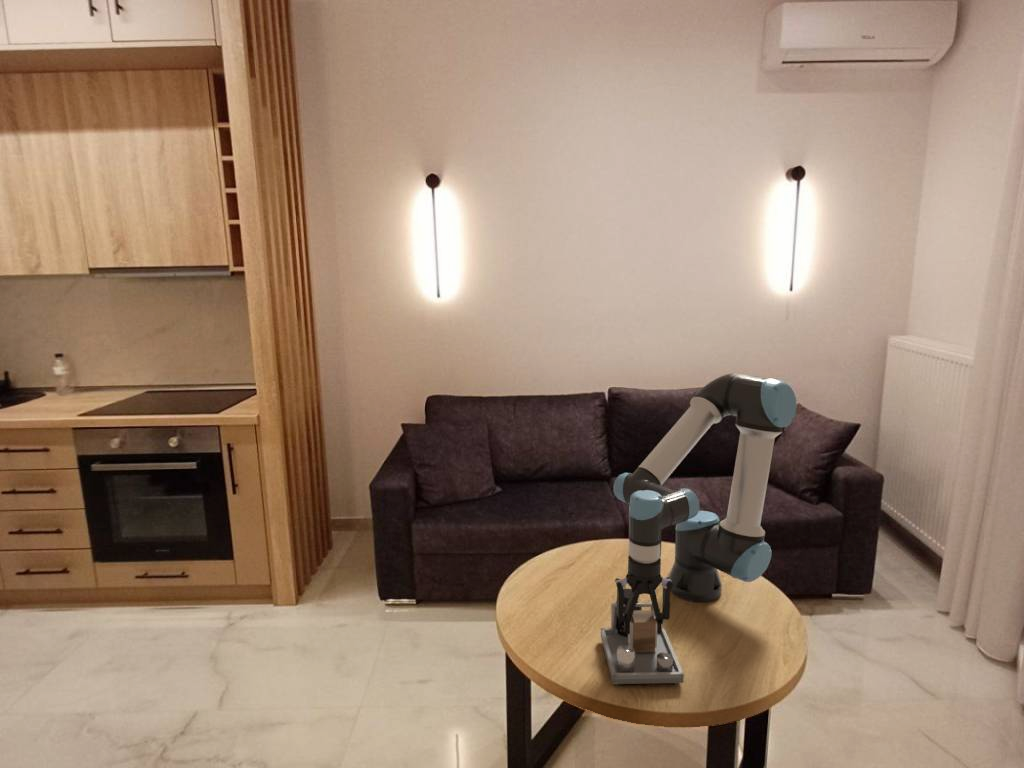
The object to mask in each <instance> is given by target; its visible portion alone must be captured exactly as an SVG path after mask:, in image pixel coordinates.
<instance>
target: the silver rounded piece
mask: <svg viewBox="0 0 1024 768" xmlns="http://www.w3.org/2000/svg"><path fill="white" fill-rule="evenodd" d="M634 665H635V650H634V648H633V647H631V646H628V645H621V646H619V647H618V648H617V671H618V672H619V673H634Z"/></svg>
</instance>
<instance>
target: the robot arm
mask: <svg viewBox="0 0 1024 768" xmlns="http://www.w3.org/2000/svg"><path fill="white" fill-rule="evenodd" d="M689 405H690V406H689V407H688V408H687V410H685V412H684V413H683V414H682V415H681V417H680V418H679V419H678V420H677V421H676V423H675V424H673V426H672V427H671V429H670V430H669V431H668V432H667V433H666V434H665V435H664V436H663V437H662V439H661V440H660V441H659V442H658V443H657V445H656V446H655V447H654V448H653V450H651V452H650V453H649V454H648V455H647V456H646V458H645V459H644V460H643V461H642V462H641V463H640V464H639V465H638V467H637V468H636V469H635V470H634V471H633V472H632V473H631V472H623V473H621V474H618V476H617V478H615V481H614V483H613V493H614V496H615V497H616V498H617V499H618V500H619V501H621V502H623V503H625V504H626V505H628V507H629V508H628V556H627V557H628V558H627V573H626V575H625V577H624V578H620V577H619V578H618V577H617V578H615V580H614V581H615V585H616V590H617V591H616V601H617V611H616V613H617V617H618V620H619V621H624V631H625V634H628V644H629V646H631V647H633V621H632V615H633V612H634V609H635V606H636V602H637V599H638V600H639V598H640V595H644V594H646V595H649V599H650V603H652V606H653V610H654V614H655V617H654V619H655V621H656V631H655V648H657V633H661V627H662V626H663V625H662V624H664V621H665V620H666V621H669V620H671V619H670V618H671V594H673V595H675V597H678V598H680V599H683V600H686V601H687V602H688V601H689V602H695V603H707V602H708V603H709V602H712V601H715V600H717V599H718V598H719V597H721V595H722V588H723V587H722V581H721V578H720V574H719V571H720V572H722V573H724V574H727V575H728V576H730V577H732V578H733V579H737V580H739V581H742V582H746V583H750V582H751V583H752V582H754V581H756V580H758V579H759V578H760V577H761V576H762V575H763V574H764V573H765V571H767V569H768V567H769V564H770V562H771V560H772V549H771V545H769V543H767V542H766V541H765V537H766V531H765V530H764V529H763V527H762V526H761V522H762V518H763V517H762V516H763V510H764V505H765V500H766V499H765V498H766V494H767V493H766V492H767V488H768V481H769V476H770V475H769V474H770V469H771V462H772V459H773V458H772V457H773V451H774V445H775V439H776V438H777V437H778V436H779V435H781V434H783V431H784V430H783V428H786V427H788V426H790V425H791V424H792V422H793V419H794V418H795V416H796V413H797V398H796V394H795V391H794V390H793V388H792V387H791V385H790V384H789V383H787V382H785V381H782V380H779V379H775V378H772V377H770V378H769V377H762V376H755V375H750V374H749V375H748V374H744V373H739V372H738V373H737V372H736V373H735V372H732V373H728V374H727V373H726V374H724V375H721V376H719V377H717V378H714V379H713V380H712V381H710V382H709V383H707V384H705V386H703V387H702V388H700V389H699V390H698V391H697V392H696V394H695V395H694V396H693V397H692V398H691V399H690V402H689ZM727 416H733V417H736V419H735V427H736V428H737V429H738V431H739V432H740V433H739V437H738V444H737V452H736V456H735V462H734V469H733V470H734V471H733V476H732V483H731V487H730V495H729V501H728V506H727V513H726V517H725V518H724V519H723V520H721V521H720V517H719V516H718V515H717V514H716V513H715V512H711V511H708V510H707V511H706V510H700V501H699V498H698V496H697V494H696V493H695V492H694V491H693V490H692V489H689V488H686V487H685V488H683V487H682V488H677V489H675V490H674V489H671V488H669V487H666V486H663V484H664V483H665V482H666V481H667V479H668V478H669V477H670V476H671V474H673V472H674V471H675V470H676V469H677V467H678V466H679V465H680V464H681V462H683V460H684V459H685V458H686V457H687V455H688V454H689V453H690V452H691V451H692V449H694V447H695V446H696V445H697V443H698V442H699V441H700V440H701V438H702V437H703V436H704V435H705V434H706V433H707V432H708V430H709V429H711V426H712V425H714V424H718V423H720V422H721V421H722V420H723V418H725V417H727ZM674 525H675V535H674V536H675V541H674V545H675V546H674V550H675V551H674V563H673V565H672V567H671V570H670V572H669V573H668V574H669V575H668V576H667V577H662V575H661V567H662V566H661V565H662V560H661V559H662V558H661V557H662V537H663V536H662V535H663V530H664V529H667V528H669V527H672V526H674ZM627 584H628V586H629V587H630V589H631V593H630V596H629V600H628V603H627V606H626V609H625V613H623V610H624V590H623V589H627V588H626V587H627ZM660 585H661V586H662V606H661V607H662V609H660V606H659V602H658V599H657V594H656V590H657V589H658V587H659V586H660ZM661 610H662V611H661Z"/></svg>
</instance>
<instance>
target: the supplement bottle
mask: <svg viewBox="0 0 1024 768" xmlns="http://www.w3.org/2000/svg"><path fill="white" fill-rule="evenodd" d="M623 590H624V604H625V605H626V606H627V603H628V600H629V596H630V593H631V588H625V589H623ZM615 603H617V600H616V601H615ZM636 603H640V602H639V598H638V599H637V602H636ZM626 606H625V607H624V610H623V613H625V609H626ZM642 608H643V607H635V609H634V611H639V610H643V609H642ZM616 611H617V607H615V628H616V629H617V634H619V635H621V636H625V637H628V634H625V631H624V621H619V620H618V617H617V613H616Z"/></svg>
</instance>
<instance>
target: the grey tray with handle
mask: <svg viewBox="0 0 1024 768" xmlns="http://www.w3.org/2000/svg"><path fill="white" fill-rule="evenodd" d="M625 606H626V605H625V604H624V607H625ZM610 607H611V609H610V610H611V611H610V613H611V615H610V617H611V618H610V627H608V628H606V627H605V628H603V627H601V628H600V638H601V642H602V646H603V647H602V648H603V650H604V651H603V652H604V655H605V658H606V663H607V666H608V671H609V674H610V675H609V676H610V679H611V682H612V685H618V686H623V685H628V684H629V685H632V684H633V685H635V684H637V685H638V684H639V685H640V684H641V685H642V684H671V685H676V684H684V675H685V674H684V672H683V669H682V667H681V665H680V662H679V660H678V658H677V655H676V653H675V650H674V648H673V645H672V643H671V640H670V638H669V636H668V634H667V632H666V629H665V627H664V626H661V633H657V648H655V652H643V653H635V665H634V673H619V672H618V671H617V648H618V647H619V646H621V645H628V646H629V644H628V637H625V636H621V635H619V634H617V629H616V628H615V607H617V603H616V602H614V603H610ZM635 607H642V608H650V610H651V612H652V614H653V617H655V614H654V610H653V606H652V602H639V603H636V606H635ZM659 653H668V654H670V655H671V656H672V657H673V671H672V672H658V671H657V668H656V667H657V655H658V654H659Z"/></svg>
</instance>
